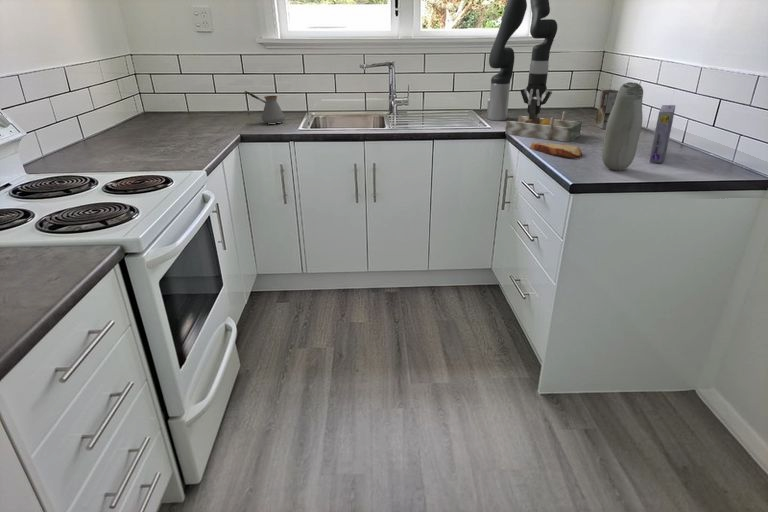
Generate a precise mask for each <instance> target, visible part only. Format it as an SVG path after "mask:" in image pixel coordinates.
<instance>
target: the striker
mask: <svg viewBox="0 0 768 512" xmlns="http://www.w3.org/2000/svg"><path fill="white" fill-rule="evenodd" d="M536 106H537V98H534V99H533V100H531V103H530V111H529V114H528V117H529V119H528V120H526V121H525V123H532V124H539V120H540V118H541V116H538V115H536V114H535V113H536Z"/></svg>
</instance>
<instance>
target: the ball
mask: <svg viewBox="0 0 768 512" xmlns="http://www.w3.org/2000/svg"><path fill="white" fill-rule="evenodd" d="M549 119H550V118H548V117H547V118H545V117H544V119H542V121H541V125H550V120H549Z"/></svg>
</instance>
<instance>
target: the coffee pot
mask: <svg viewBox="0 0 768 512" xmlns="http://www.w3.org/2000/svg"><path fill="white" fill-rule="evenodd" d="M245 94H246V95H249V96H250V97H252V98H254V99H256V100H259V101H261V102H262V103H264V108H263V111H262V114H261V121H263V122H264V123H265V122H267V123H277V122H282V123H283V121H285V117H286V116H285V115H284V113H283V110H282V109H281V107H280V105H279V103H278V101H277V98H278V96H277V95H266V96H264V99H265V100H263V98H260V97H258V95H257V96H256V95H255V94H254V93H252V92H251V93H250V92H249V91H246V90H244V92H243V94H242V95H245Z"/></svg>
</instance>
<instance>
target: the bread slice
mask: <svg viewBox="0 0 768 512" xmlns="http://www.w3.org/2000/svg"><path fill="white" fill-rule="evenodd" d="M529 149H531V150H533V151H536V152H539V153H542V152H543V154H545V155H550V156H554V157H559V156H560V157H561V158H564V157H566V158H565V159H571V158H579V159H581V158H583V153H582V150H581V148H580V147H578V146H574V145H570V144H569V145H567V144H558V143H550V142H532V143H531V145H530V146H529ZM560 157H559V158H560ZM580 157H581V158H580Z"/></svg>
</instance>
